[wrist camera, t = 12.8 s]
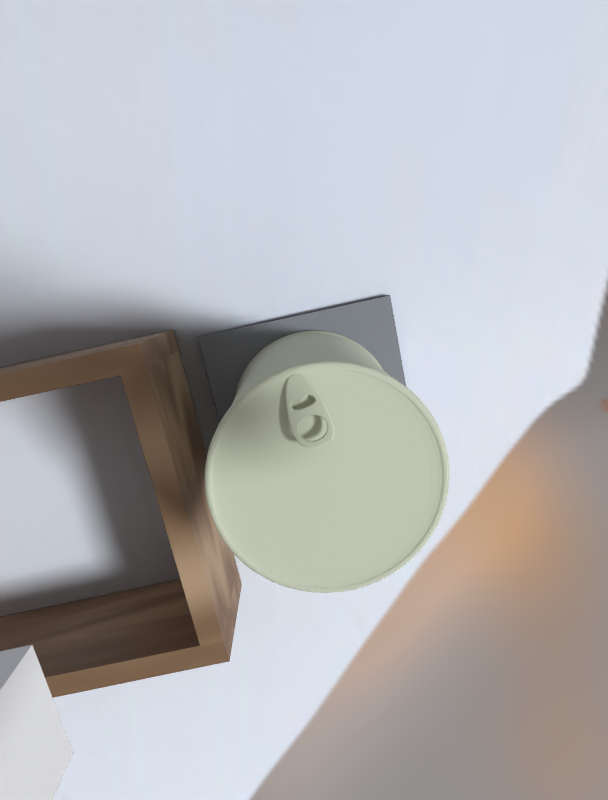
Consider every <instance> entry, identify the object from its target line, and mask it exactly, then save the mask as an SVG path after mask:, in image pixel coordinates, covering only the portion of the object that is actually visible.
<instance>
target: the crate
mask: <svg viewBox="0 0 608 800" xmlns="http://www.w3.org/2000/svg"><path fill="white" fill-rule="evenodd" d="M120 375H121V379H122V382H123V386H124V389H125V392H126V396H127V399H128V403H129V406H130V409H131V413H132V416H133V420H134V423H135V426H136V430H137V433H138V437H139V440H140V443H141V447H142V450H143V454H144V457H145V460H146V464H147V467H148V470H149V474H150V477H151V481H152V484H153V487H154V491H155V494H156V498H157V501H158V504H159V508H160V511H161V515H162V518H163V521H164V525H165V528H166V532H167V535H168V538H169V542H170V545H171V548H172V552H173V555H174V559H175V562H176V565H177V569H178V572H179V576H180V580H175V581H170V582H165V583H161V584H156V585H151V586H146V587H142V588H137V589H132V590H127V591H122V592H118V593H113V594H108V595H103V596H99V597H94V598H89V599H84V600H79V601H75V602H70V603H65V604H60V605H56V606H51V607H46V608H41V609H36V610H32V611H27V612H22V613H17V614H13V615H8V616H3V617H0V651H4V650H9V649H14V648H19V647H24V646H28V645H33V648H34V651H35V653H36V656H37V658H38V661H39V664H40V666H41V669H42V672H43V674H44V677H45V679H46V682H47V685H48V687H49V690H50V692H51V695H52V698H53V697H58V696H63V695H68V694H73V693H77V692H82V691H87V690H92V689H97V688H102V687H107V686H111V685H116V684H121V683H126V682H131V681H136V680H141V679H145V678H150V677H155V676H160V675H165V674H170V673H175V672H179V671H184V670H189V669H194V668H199V667H204V666H209V665H213V664H218V663H223V662H228V661H229V660H230V654H231V648H232V641H233V635H234V629H235V623H236V616H237V610H238V604H239V597H240V591H241V585H242V584H241V580H240V576H239V573H238V569H237V565H236V561H235V558H234V554H233V552H232V551H231V550H230V548H229V547H228V546H227V545H226V543H225V542H224V540H223V539H222V537H221V536H220V534H219V532H218V530H217V529H216V526H215V524H214V522H213V520H212V517H211V514H210V511H209V508H208V504H207V499H206V492H205V465H206V459H207V453H206V449H205V445H204V442H203V438H202V434H201V431H200V427H199V423H198V419H197V416H196V412H195V408H194V404H193V401H192V397H191V393H190V389H189V386H188V382H187V378H186V374H185V371H184V367H183V363H182V359H181V356H180V352H179V348H178V344H177V341H176V337H175V333H174V330H169V331H165V332H160V333H156V334H151V335H147V336H142V337H138V338H133V339H128V340H124V341H119V342H115V343H110V344H106V345H101V346H96V347H92V348H87V349H83V350H78V351H74V352H69V353H64V354H60V355H55V356H51V357H46V358H42V359H37V360H33V361H28V362H23V363H19V364H14V365H10V366H5V367H1V368H0V402H1V401H5V400H10V399H15V398H19V397H24V396H28V395H33V394H38V393H42V392H47V391H51V390H56V389H61V388H65V387H70V386H74V385H79V384H84V383H88V382H93V381H97V380H102V379H107V378H111V377H116V376H120Z"/></svg>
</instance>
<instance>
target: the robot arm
mask: <svg viewBox="0 0 608 800" xmlns="http://www.w3.org/2000/svg"><path fill="white" fill-rule="evenodd" d="M73 754H74V753H73V750H72V748H71V745H70V742H69V740H68V737H67V734H66V732H65V729H64V727H63V724H62V721H61V719H60V716H59V713H58V711H57V708H56V706H55V703H54V700H53V698H52V695H51V692H50V690H49V687H48V685H47V682H46V679H45V677H44V674H43V672H42V669H41V666H40V664H39V661H38V658H37V656H36V653H35V651H34V648H33V645H28V646H24V647H19V648H14V649H9V650H4V651H0V800H53V798H54V795H55V793H56V791H57V789H58V787H59V784H60V782H61V780H62V778H63V776H64V773H65V771H66V769H67V767H68V765H69V762H70V760H71V758H72V756H73Z"/></svg>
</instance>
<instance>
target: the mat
mask: <svg viewBox="0 0 608 800" xmlns="http://www.w3.org/2000/svg"><path fill="white" fill-rule="evenodd" d="M304 331H325V332H331V333H335V334H339V335H342V336H344V337H347V338H349V339H351V340H353V341H355V342H357V343H358V344H360V345H361V346H362V347H364V348H365V349H366V350H367V351H368V352H370V353H371V354H372V355H373V356H374V358H375V359H376V360H377V361H378V362H379V364H380V365H381V367H382V368H383V370H384V371H385V372H386V373H387V374H388V375H390V376H391V377H392V378H394V379H396V380H397V381H399V382H400V383H401V384H403V385H404V386H406V384H405V378H404V372H403V366H402V361H401V355H400V349H399V344H398V338H397V332H396V327H395V321H394V315H393V309H392V304H391V298H390V295H388V296H384V297H379V298H374V299H370V300H365V301H361V302H356V303H352V304H347V305H342V306H338V307H333V308H329V309H324V310H320V311H315V312H310V313H306V314H301V315H297V316H292V317H287V318H283V319H278V320H274V321H269V322H265V323H260V324H255V325H251V326H246V327H242V328H237V329H233V330H228V331H223V332H219V333H214V334H210V335H205V336H201V337H198V340H199V344H200V348H201V352H202V356H203V360H204V363H205V367H206V371H207V375H208V379H209V383H210V387H211V391H212V394H213V398H214V402H215V406H216V410H217V414H218V418H219V422H220V421H221V420H222V418H223V417H224V415H225V414H226V412H227V411H228V410H229V408H230V407H231V405H232V403H233V401H234V399H235V394H236V390H237V386H238V383H239V381H240V379H241V376H242V374H243V372H244V371H245V369H246V367H247V366H248V364H249V363H250V362H251V361H252V359H253V358H254V357H255V356H256V355H257V354H258V353H259V352H260V351H261V350H262V349H264V348H265V347H266V346H268V345H269V344H271V343H273V342H274V341H276V340H278V339H280V338H282V337H285V336H288V335H290V334H294V333H298V332H304Z"/></svg>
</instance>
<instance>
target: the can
mask: <svg viewBox="0 0 608 800" xmlns="http://www.w3.org/2000/svg"><path fill="white" fill-rule="evenodd" d="M448 488H449V462H448V455H447V450H446V446H445V443H444V440H443V437H442V434H441V432H440V430H439V427H438V425H437V423H436V421H435V419H434V418H433V416H432V415H431V413H430V412H429V410H428V409H427V408H426V406H425V405H424V404H423V403H422V402H421V400H420V399H419V398H418V397H417V396H416V395H415V394H414V393H413V392H412V391H410V390H409V389H408V388H407V387H406V386H404V385H403V384H401V383H400V382H399V381H397V380H396V379H394V378H392V377H391V376H390V375H388V374H387V373H386V372H385V371H384V370H383V368H382V367H381V365H380V364H379V362H378V361H377V360H376V359H375V358H374V356H373V355H372V354H371V353H370V352H368V351H367V350H366V349H365V348H364V347H362V346H361V345H360V344H358V343H357V342H355V341H353V340H351V339H349V338H347V337H344V336H342V335H339V334H335V333H331V332H325V331H304V332H298V333H294V334H290V335H288V336H285V337H282V338H280V339H278V340H276V341H274V342H273V343H271V344H269V345H268V346H266V347H265V348H264V349H262V350H261V351H260V352H259V353H258V354H257V355H256V356H255V357H254V358H253V359H252V361H251V362H250V363H249V364H248V366H247V367H246V369H245V371H244V372H243V374H242V376H241V379H240V381H239V383H238V386H237V390H236V394H235V399H234V401H233V403H232V405H231V407H230V408H229V410H228V411H227V412H226V414H225V415H224V417H223V418H222V420H221V421H220V423H219V425H218V427H217V429H216V431H215V433H214V436H213V438H212V440H211V443H210V446H209V450H208V454H207V459H206V465H205V492H206V499H207V504H208V508H209V511H210V514H211V517H212V520H213V522H214V524H215V526H216V529H217V530H218V532H219V534H220V536H221V537H222V539H223V540H224V542H225V543H226V545H227V546H228V547H229V548H230V550H231V551H232V552H233V553H234V554H235V555H236V556H237V557H238V558H239V559H240V560H241V561H242V562H243V563H244V564H245V565H246V566H248V567H249V568H250V569H252V570H253V571H255V572H256V573H258V574H259V575H261V576H263V577H265V578H266V579H268V580H270V581H272V582H275V583H277V584H280V585H282V586H285V587H289V588H293V589H297V590H301V591H308V592H319V593H330V592H341V591H348V590H354V589H357V588H361V587H364V586H367V585H370V584H372V583H375V582H377V581H379V580H381V579H383V578H385V577H387V576H389V575H391V574H392V573H394V572H395V571H397V570H398V569H400V568H401V567H403V566H404V565H405V564H406V563H408V562H409V561H410V560H411V559H412V558H413V557H414V556H415V555H416V554H417V553H418V552H419V551H420V550H421V549H422V547H423V546H424V545H425V544H426V542H427V541H428V540H429V538H430V537H431V535H432V534H433V532H434V530H435V528H436V526H437V524H438V522H439V521H440V518H441V515H442V513H443V510H444V507H445V503H446V500H447V494H448Z"/></svg>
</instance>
